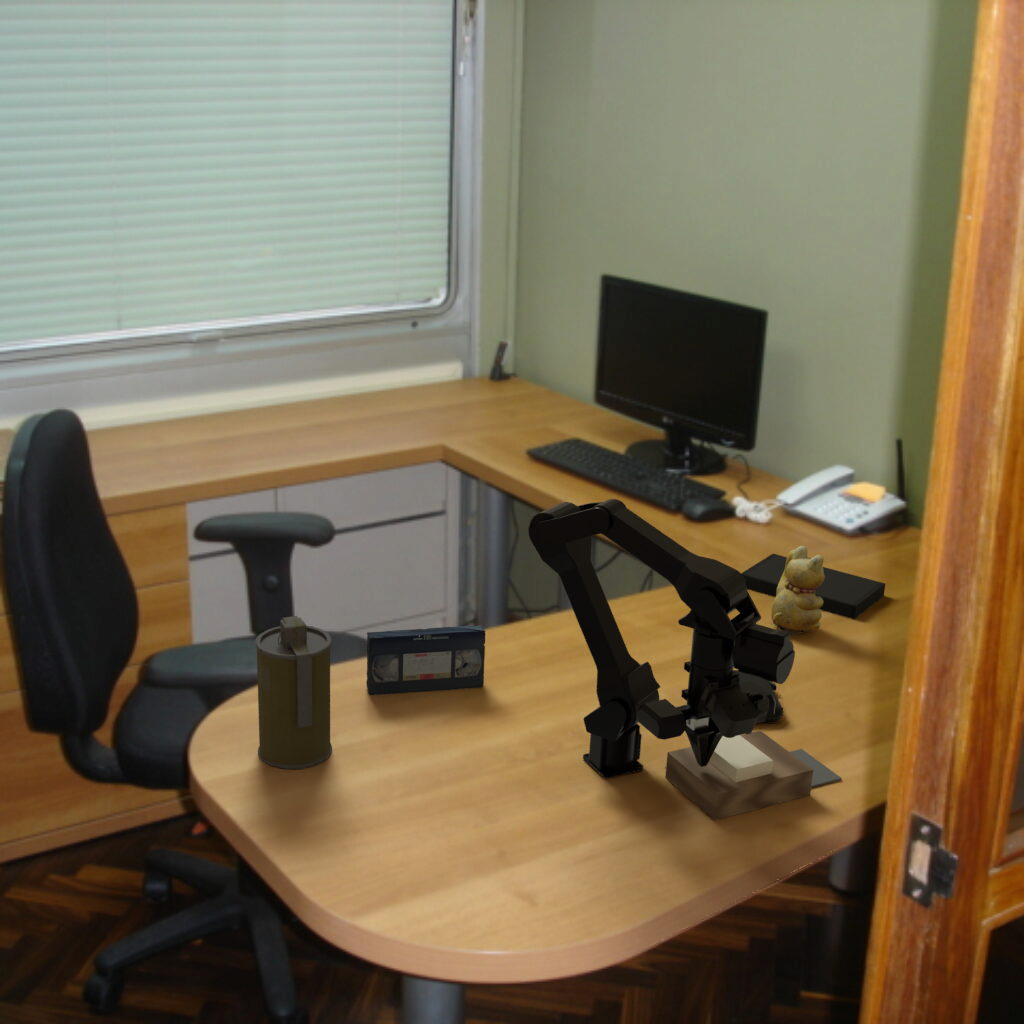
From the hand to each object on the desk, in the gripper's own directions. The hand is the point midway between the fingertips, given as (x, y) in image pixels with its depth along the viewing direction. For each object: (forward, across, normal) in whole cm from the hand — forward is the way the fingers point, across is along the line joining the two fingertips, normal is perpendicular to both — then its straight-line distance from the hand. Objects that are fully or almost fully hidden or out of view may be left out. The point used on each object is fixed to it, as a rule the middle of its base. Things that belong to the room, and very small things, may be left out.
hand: (702, 765), depth 187 cm
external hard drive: (+5, +62, +53) cm, 82 cm away
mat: (+5, +18, 0) cm, 19 cm away
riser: (+5, +6, 0) cm, 8 cm away
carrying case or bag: (+5, +23, +20) cm, 31 cm away
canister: (+5, -47, +33) cm, 57 cm away
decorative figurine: (+5, +47, +40) cm, 62 cm away
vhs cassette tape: (+5, -22, +44) cm, 49 cm away
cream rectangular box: (+1, +6, 0) cm, 6 cm away
